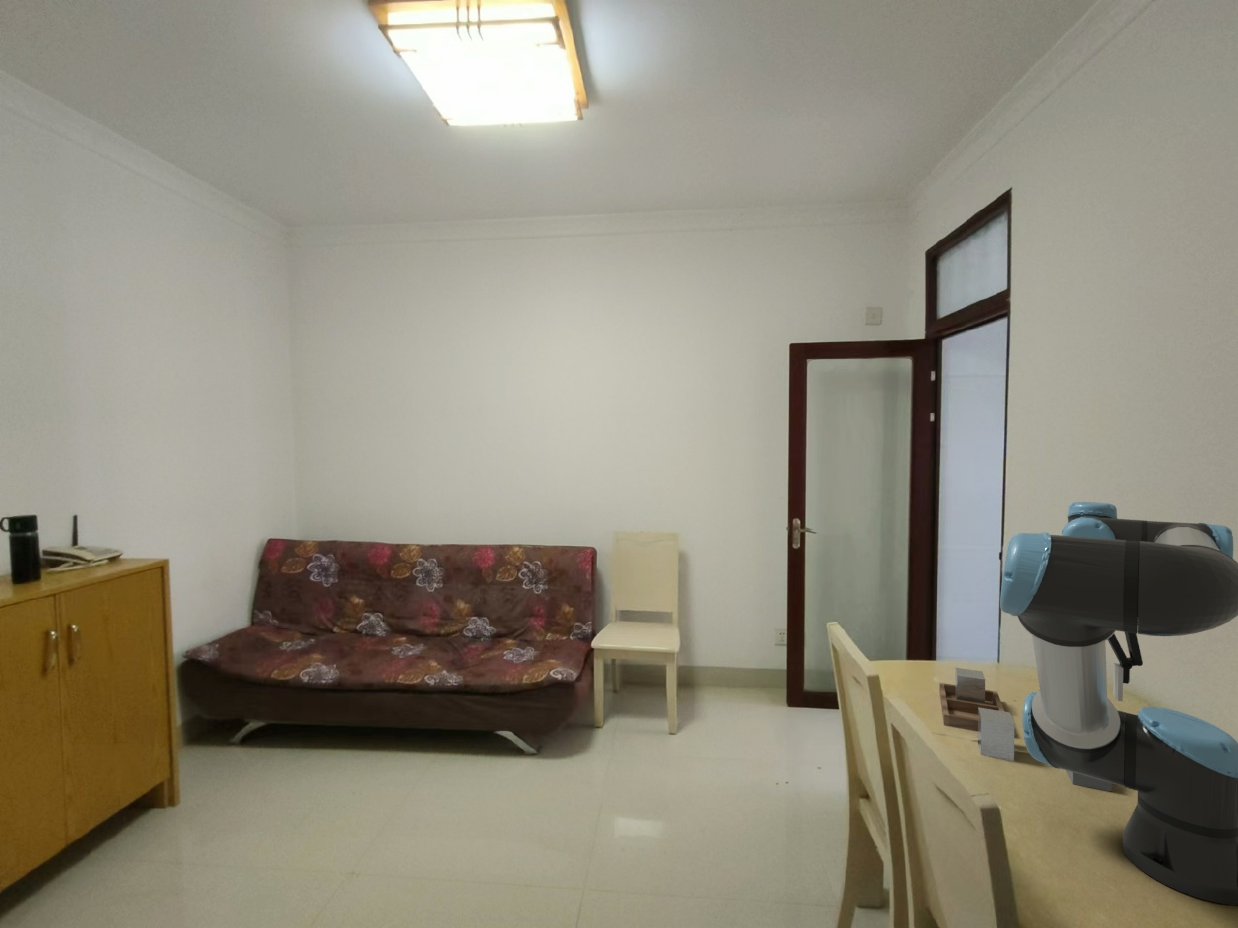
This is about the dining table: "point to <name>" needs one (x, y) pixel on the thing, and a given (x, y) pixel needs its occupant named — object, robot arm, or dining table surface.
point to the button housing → (1089, 781)
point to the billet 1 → (969, 685)
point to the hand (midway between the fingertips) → (1089, 694)
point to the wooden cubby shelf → (964, 708)
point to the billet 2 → (996, 734)
